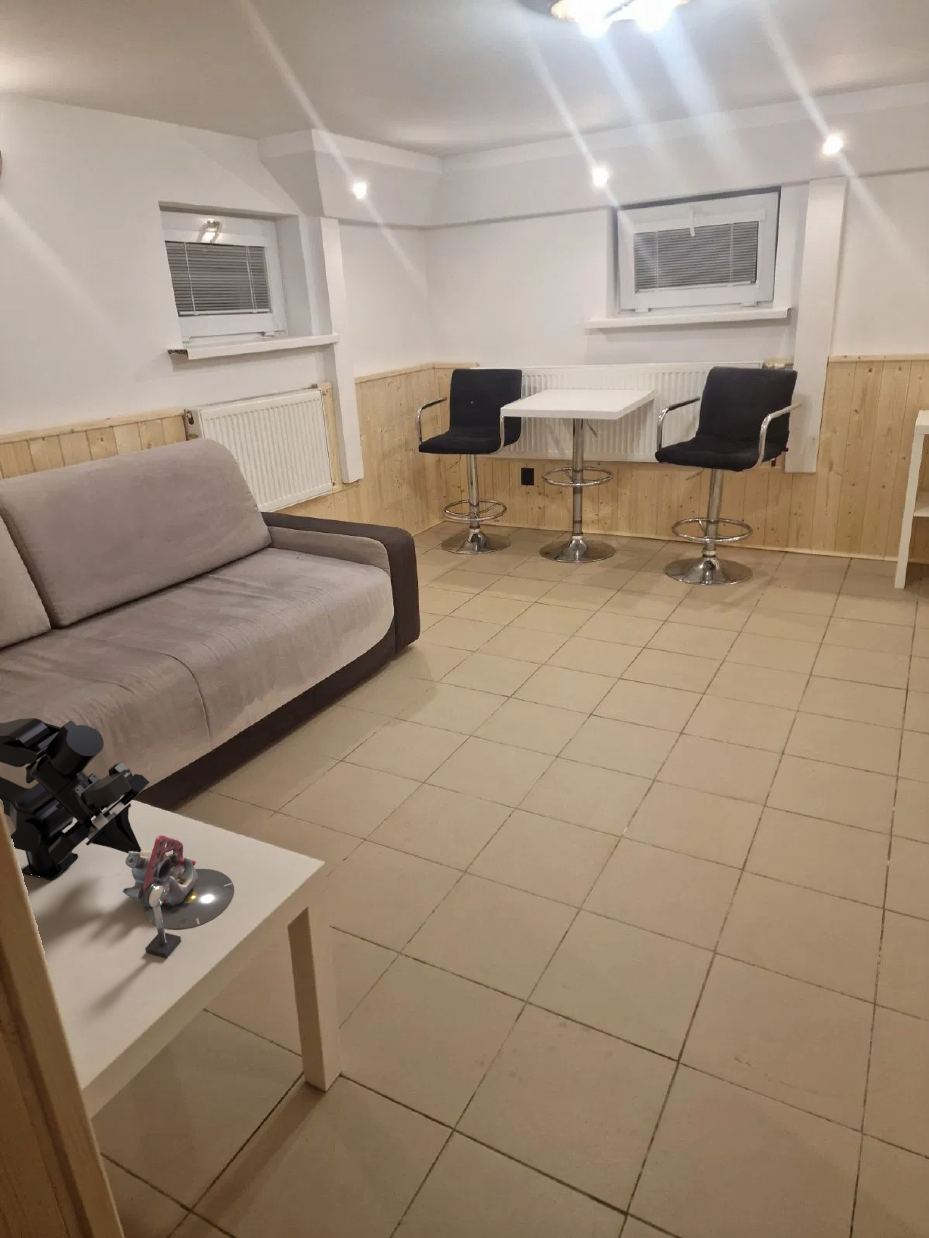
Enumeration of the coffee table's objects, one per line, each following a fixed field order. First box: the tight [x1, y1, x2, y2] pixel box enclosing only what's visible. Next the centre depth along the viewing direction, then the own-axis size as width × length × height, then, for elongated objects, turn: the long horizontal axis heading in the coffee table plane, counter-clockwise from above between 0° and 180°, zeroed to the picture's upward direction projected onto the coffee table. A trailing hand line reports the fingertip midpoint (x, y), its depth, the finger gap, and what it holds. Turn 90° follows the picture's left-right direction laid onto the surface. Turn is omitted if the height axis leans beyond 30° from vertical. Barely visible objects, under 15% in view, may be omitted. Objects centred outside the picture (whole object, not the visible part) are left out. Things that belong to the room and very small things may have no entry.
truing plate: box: [143, 868, 235, 930], centre depth 134 cm, size 14×14×1 cm
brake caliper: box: [122, 834, 198, 905], centre depth 134 cm, size 11×11×12 cm
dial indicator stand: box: [142, 883, 182, 960], centre depth 122 cm, size 4×4×12 cm
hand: (138, 853), depth 134 cm, fingers closed
